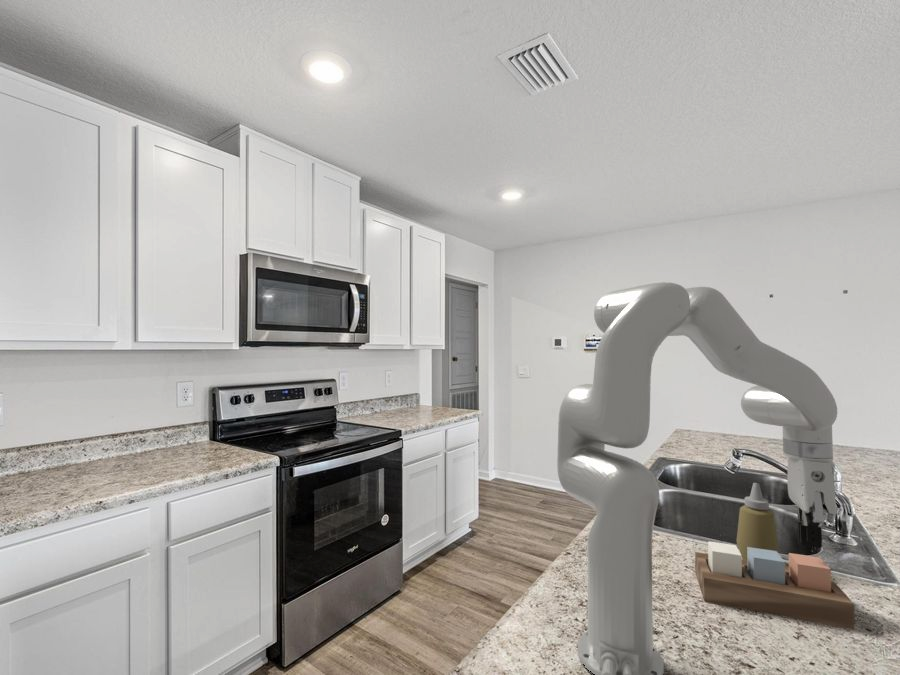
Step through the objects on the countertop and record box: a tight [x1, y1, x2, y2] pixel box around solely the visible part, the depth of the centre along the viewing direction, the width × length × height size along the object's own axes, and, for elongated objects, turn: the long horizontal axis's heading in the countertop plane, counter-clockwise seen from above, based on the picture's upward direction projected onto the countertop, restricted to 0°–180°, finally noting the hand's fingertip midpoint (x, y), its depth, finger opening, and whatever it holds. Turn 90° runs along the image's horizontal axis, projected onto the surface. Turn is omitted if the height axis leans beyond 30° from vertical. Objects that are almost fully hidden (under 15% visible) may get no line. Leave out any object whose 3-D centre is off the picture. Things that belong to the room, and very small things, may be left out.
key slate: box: [747, 547, 786, 585], centre depth 87 cm, size 5×5×5 cm
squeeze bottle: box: [735, 482, 780, 560], centre depth 102 cm, size 8×8×18 cm
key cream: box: [707, 541, 742, 577], centre depth 90 cm, size 5×5×5 cm
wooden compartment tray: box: [694, 551, 855, 631], centre depth 87 cm, size 12×23×4 cm, turn 68°
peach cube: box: [788, 552, 832, 592], centre depth 85 cm, size 5×5×5 cm
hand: (810, 545), depth 85 cm, fingers closed
